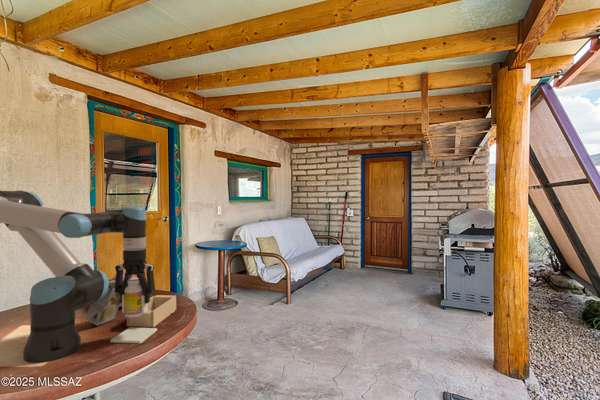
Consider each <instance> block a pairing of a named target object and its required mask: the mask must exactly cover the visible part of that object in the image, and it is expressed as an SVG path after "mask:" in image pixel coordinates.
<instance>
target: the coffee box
mask: <svg viewBox="0 0 600 400" xmlns="http://www.w3.org/2000/svg"><path fill="white" fill-rule="evenodd" d="M108 280H109V286H108V291H107V293H106V295H105V296H104V297H103V298H102V299H100V300H98V301H97V302H96V303H93V304H90V305H89V308H88V310H87V314H86V316H85V320H87V321H89V322H90V323H92V324H94V325H96V326H99V325H103V324H105V323H107V322H110V321H112V320H114V319H115V318H116V315H117V313H118V311H119V308H120V307H119V306H120V304H121V302H120V294H119V293H115V281H116V278H115V279H113V278H111V279H108Z"/></svg>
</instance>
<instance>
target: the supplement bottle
mask: <svg viewBox="0 0 600 400" xmlns="http://www.w3.org/2000/svg"><path fill="white" fill-rule="evenodd" d="M143 294H144V293H143V290H142V288H141V285H140V282H139V279H138V278H137V277H136V278H132V279H129V280H128V287H126V288H125V313H124V316H125V317H126V318H127V317H137V316H140V315H142V314H144V313H142V297H141V295H143Z"/></svg>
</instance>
